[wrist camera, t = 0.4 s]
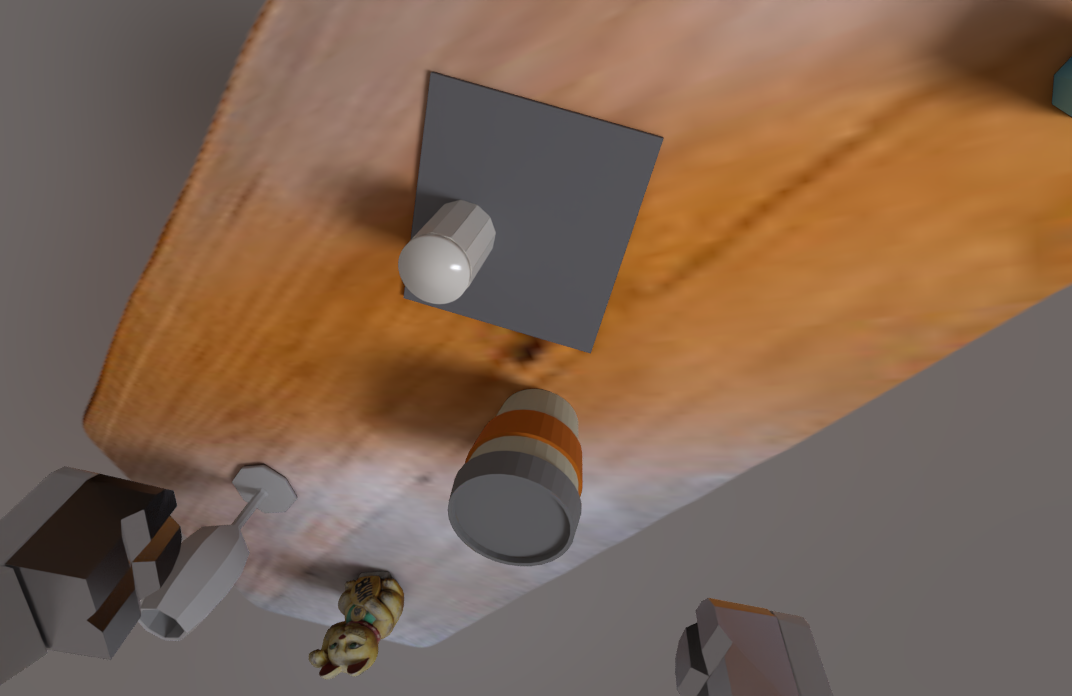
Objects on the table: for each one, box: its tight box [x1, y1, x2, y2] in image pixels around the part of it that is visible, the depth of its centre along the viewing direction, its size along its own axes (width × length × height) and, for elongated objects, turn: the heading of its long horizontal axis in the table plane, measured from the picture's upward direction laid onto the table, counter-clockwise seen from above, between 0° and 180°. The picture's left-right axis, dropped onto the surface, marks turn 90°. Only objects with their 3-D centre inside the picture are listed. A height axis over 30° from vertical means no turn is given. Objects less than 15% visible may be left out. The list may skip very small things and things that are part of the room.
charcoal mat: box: [404, 72, 663, 353], centre depth 56 cm, size 22×20×1 cm
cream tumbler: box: [398, 200, 496, 304], centre depth 54 cm, size 6×6×9 cm
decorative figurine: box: [309, 571, 404, 679], centre depth 84 cm, size 10×8×15 cm
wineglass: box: [138, 465, 297, 641], centre depth 74 cm, size 9×9×21 cm
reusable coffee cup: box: [448, 389, 582, 566], centre depth 62 cm, size 13×12×15 cm
